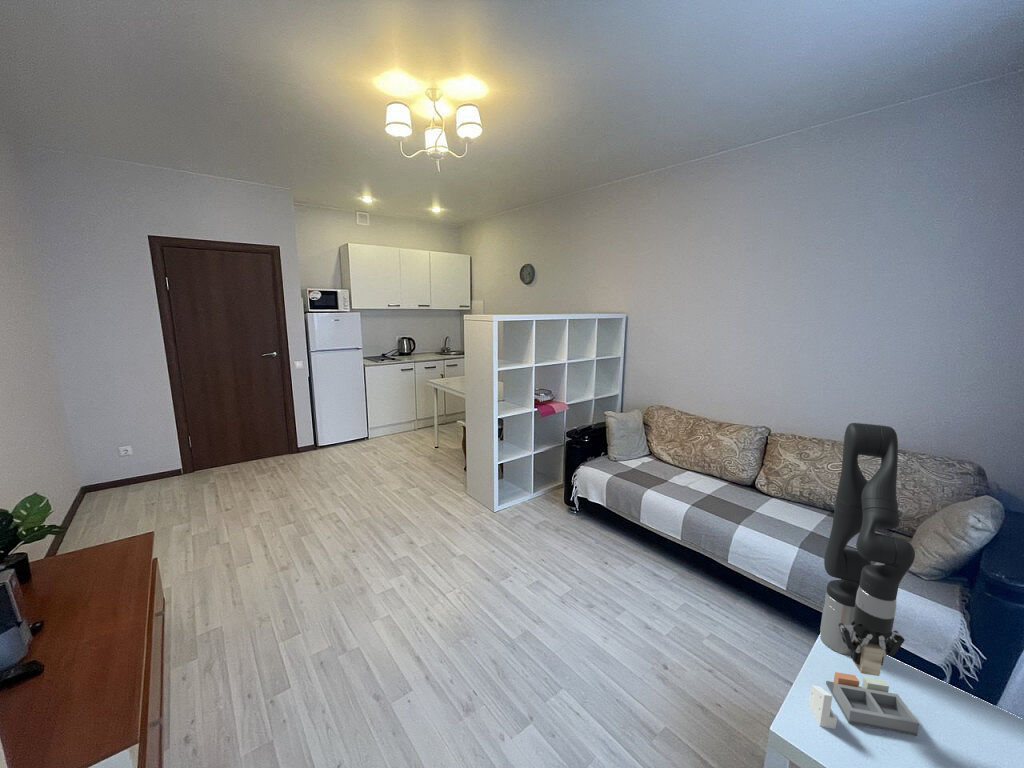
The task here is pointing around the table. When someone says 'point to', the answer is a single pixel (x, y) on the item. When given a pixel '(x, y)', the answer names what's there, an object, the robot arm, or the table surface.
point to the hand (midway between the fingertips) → (865, 663)
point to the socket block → (872, 704)
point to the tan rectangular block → (870, 659)
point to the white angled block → (822, 707)
